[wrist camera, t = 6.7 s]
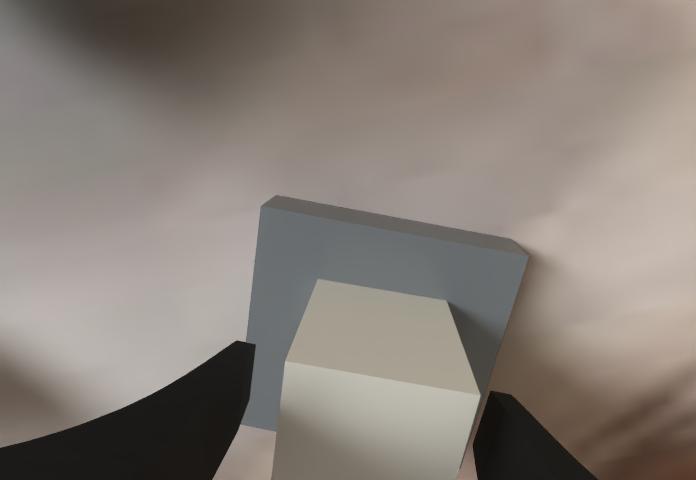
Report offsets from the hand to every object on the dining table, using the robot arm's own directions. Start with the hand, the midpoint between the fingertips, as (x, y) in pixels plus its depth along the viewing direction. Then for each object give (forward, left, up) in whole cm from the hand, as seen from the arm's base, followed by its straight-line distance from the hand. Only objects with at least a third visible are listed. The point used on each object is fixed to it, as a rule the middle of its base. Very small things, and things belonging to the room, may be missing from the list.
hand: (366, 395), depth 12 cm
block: (0, 0, -3) cm, 3 cm away
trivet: (0, 0, -5) cm, 5 cm away
